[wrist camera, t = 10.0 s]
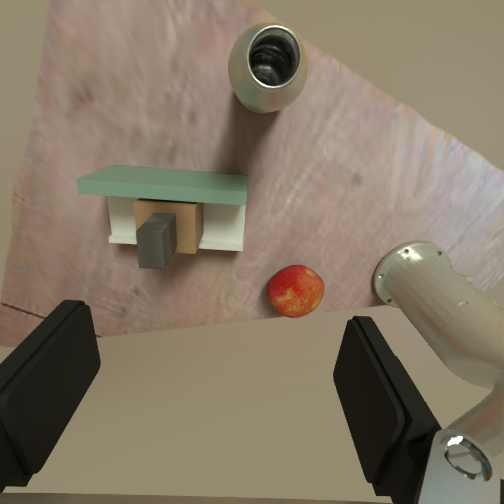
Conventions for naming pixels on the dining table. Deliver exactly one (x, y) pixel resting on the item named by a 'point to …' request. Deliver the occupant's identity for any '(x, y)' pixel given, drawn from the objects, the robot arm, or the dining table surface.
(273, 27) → the plastic bottle
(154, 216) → the tan grey tall block
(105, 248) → the dining table surface
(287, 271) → the apple
